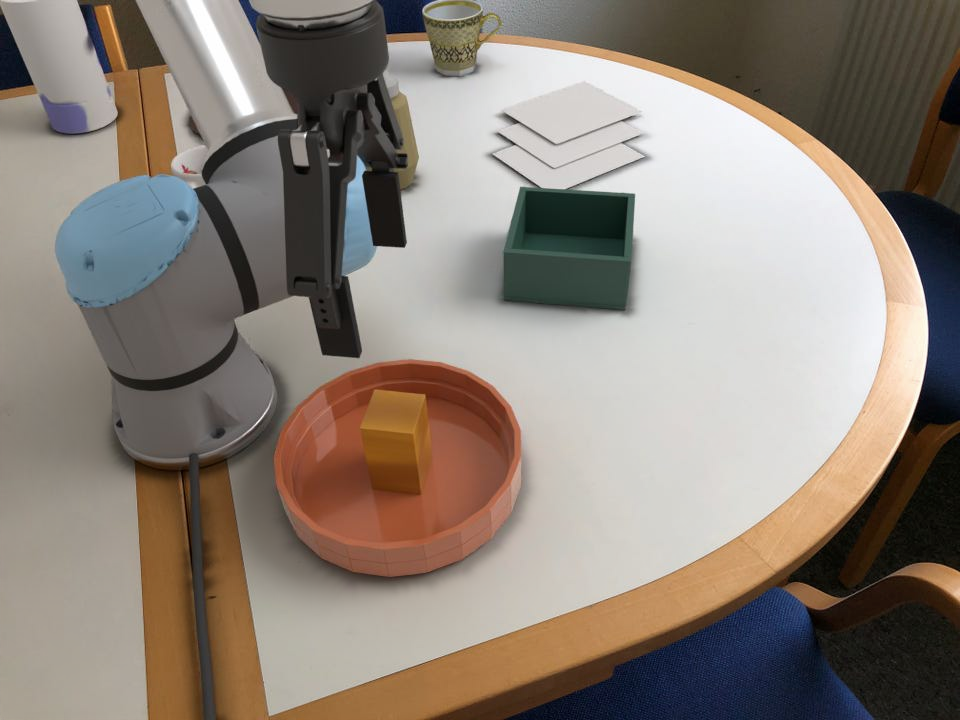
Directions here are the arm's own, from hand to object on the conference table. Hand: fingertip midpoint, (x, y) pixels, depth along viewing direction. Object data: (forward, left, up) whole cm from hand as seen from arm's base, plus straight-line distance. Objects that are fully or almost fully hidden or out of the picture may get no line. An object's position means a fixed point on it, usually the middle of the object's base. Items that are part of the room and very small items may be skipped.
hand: (368, 294), depth 61 cm
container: (+61, +67, -19) cm, 92 cm away
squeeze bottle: (+48, +13, -19) cm, 53 cm away
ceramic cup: (+86, +10, -19) cm, 88 cm away
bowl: (-2, -1, -19) cm, 19 cm away
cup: (+36, +34, -19) cm, 53 cm away
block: (-2, -1, -18) cm, 18 cm away
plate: (+68, +37, -19) cm, 79 cm away
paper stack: (+64, -10, -19) cm, 67 cm away
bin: (+31, -13, -19) cm, 38 cm away
